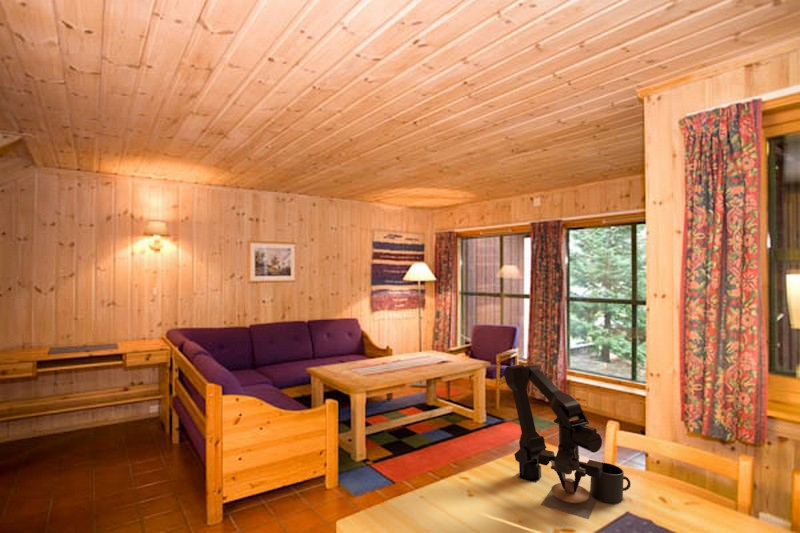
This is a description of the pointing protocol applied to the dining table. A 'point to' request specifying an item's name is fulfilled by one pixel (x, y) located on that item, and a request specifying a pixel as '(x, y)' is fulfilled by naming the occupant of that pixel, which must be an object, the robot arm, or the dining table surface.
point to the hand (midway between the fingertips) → (569, 490)
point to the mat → (570, 505)
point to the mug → (609, 484)
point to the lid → (570, 492)
